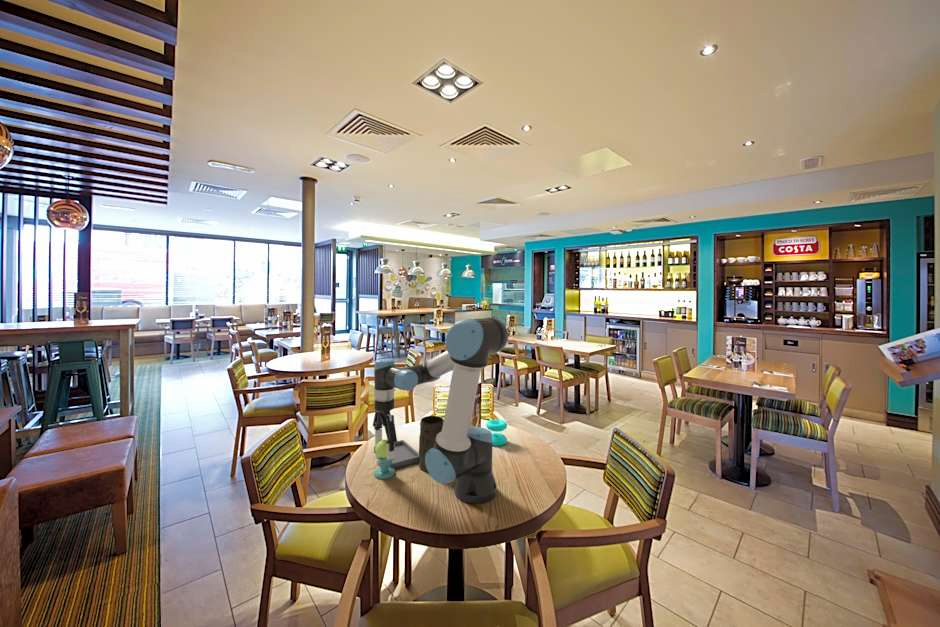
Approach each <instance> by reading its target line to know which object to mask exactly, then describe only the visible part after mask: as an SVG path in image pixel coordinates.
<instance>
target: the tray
mask: <svg viewBox="0 0 940 627" xmlns="http://www.w3.org/2000/svg"><path fill="white" fill-rule="evenodd" d="M375 449H376V447H375V445H374V446H373V453H375V454H376V451H375ZM376 455H377V454H376ZM376 455H375V456H376ZM419 462H420V460H419V451H417V450H416V449H414V448H413V447H412V446H411V445H410V444H409V443H407V441H405V440H404V439H400V440H397V442H394V460H392V465H390V466H389V467H392V468H394V469H395V470H396V469H398V468H402V467H406V466H410V465H413V464H417V463H418V464H419Z"/></svg>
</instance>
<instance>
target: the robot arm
mask: <svg viewBox="0 0 940 627" xmlns="http://www.w3.org/2000/svg"><path fill="white" fill-rule="evenodd" d="M508 340H509V332H508V329H507V327H506V325H505V324H504V322H502V321H501V320H500V319H497V318H494V317H483V318H481V317H480V318H466V319H463V320H459V321H456V322H455V323H453V324H451V326H449V329H448V331H447V332H446V336H445V347H446V348H447V349H446V350H445V351H444V352H441V353H440V354H438V355H436V356H435V357H432V358H431V359H429V360H428V361H426V362H424V363H422V364H421V363H420V364H416V365H411V366H405V367H398V366H395V360H394V359H393V358H379V359H376V360H375V361H374V369H373V372H374V374H373V376H374V377H373V378H374V379H373V380H374V383H373V384H374V389H373V390H374V392H373V394H374V395H373V396H374V397H373V398H374V403H373V404H374V412H375V413H374V417H373V422H372V426H373V428H374V446H375V447H376V445H377V444H378V443H379V442H380V441H382V440H383V427H384V430H385V434H386V440H388V441H387V442H386V444H387V460H389V459H393V458H394V442H397V441H398V438H397V432H396V426H395V415H393V414H391V411H392V410H393V409H394V408H395V399H394V398H395V392H396V389H397V390H400V391H401V390H402V391H407V392H409V391H412V390H414V388H416V387H417V386H418V385H423V384H427V383H432V382H435V381H437V380H439V379H440V378H441V377H443V375H446V374H447V373H448V374H449V373H450V372H452V373H451V378H450V379H451V380H450V385H449V390H448V396H447V401H446V406H445V412H444V417H443V419H444V422H443V428H442V432H440V433H438V434H437V436H436V440H435V445H434V448H431V449H429V451H427V453H426V455H425V464H426V468H427V470H428V474H429V476H430V477H431V478H432V479H433V480H434V481H435V482H436V483H438V484H441V485H447V484H449V483H451V482H454V481H455V480H456V482H455V483H454V495H455V497H456V498H458V500H460V501H461V502H464V503H468V504H475V505H476V504H478V505H479V504H485V503H488V502H491V501H492V500H493V499H495V498H496V496H497V486H498V485H497V482H496V480H495V476H494V474H493V445H492V443H493V441H492V433H493V432H492V431H491V430H489V429H488V428H485V427H483V426H482V427H481V426H476V425H475V426H473V425H471V421H472V417H473V411H474V409H475V408H474V407H475V401H476V396H477V392H478V387H479V381H480V376H481V371H482V370H483V369H486V367H487V366H488V363H489V356H490V355H492V354H493V355H494V354H496V353H499V352H500V351H502V350H503V349H504V348H505V347H506V345H507V343H508Z"/></svg>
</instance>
